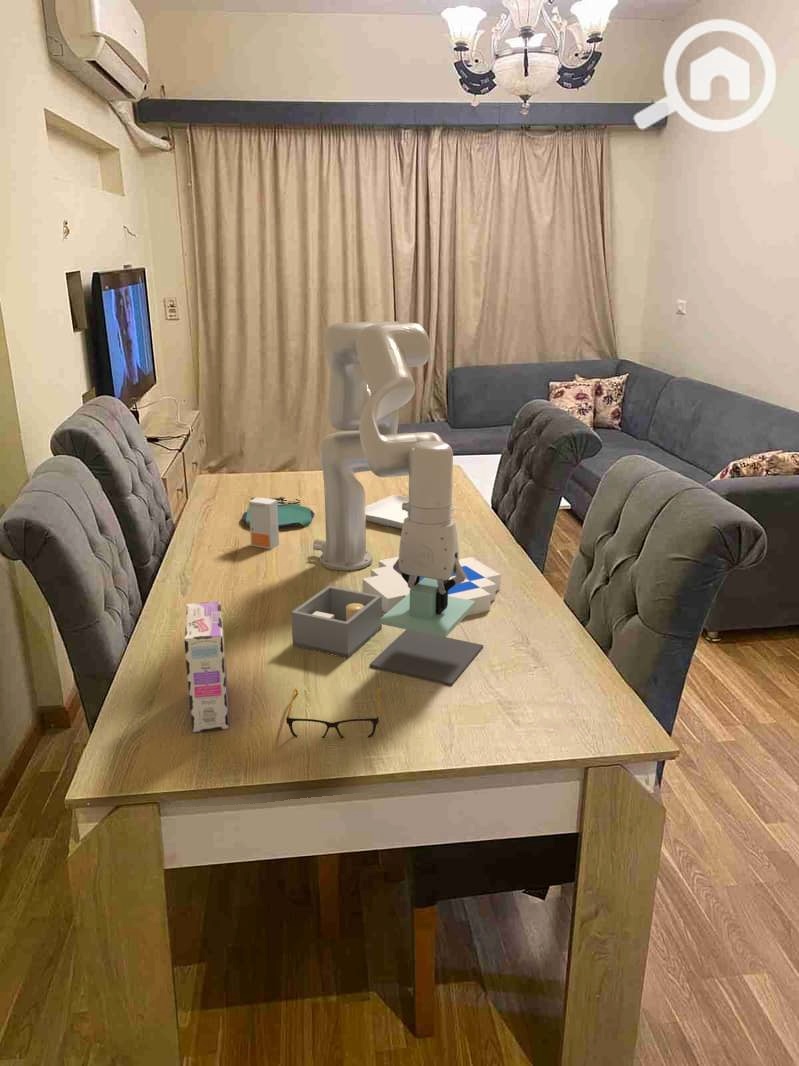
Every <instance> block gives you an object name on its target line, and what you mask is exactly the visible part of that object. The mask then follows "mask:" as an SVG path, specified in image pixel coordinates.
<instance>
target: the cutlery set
mask: <svg viewBox="0 0 799 1066" xmlns="http://www.w3.org/2000/svg"><path fill="white" fill-rule="evenodd" d="M250 498H251V499H250V501H251V500H253V499H255V498H256V497H250ZM267 498H268V499H285V498H286V496H280V497H273V498H272V497H271V498H269V497H267ZM284 501H287V500H284ZM297 501H299V502H298V503H297V502H295V501H293V503H295V504H291V503H292V502H287V503H288V504H283V503H285V502H283V500H280V501H277V508H278V528H289V527H295V526H299V525H302V526H303V527H304V528H306V527H305V526H307V527H309V526H310V524H311V523H312V520H313V519H314V517H315V512H314V511H313V510H312V509H311V508H310V507H308V506H303V505H301V503H300V502H301V500H297ZM241 517H242V520H243V521H244V522H246V524H247V525H248V526H249V527H250V516H249V508H248V509H246V511H244V513H243V514H242V515H241Z"/></svg>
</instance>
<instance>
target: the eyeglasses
mask: <svg viewBox="0 0 799 1066" xmlns="http://www.w3.org/2000/svg"><path fill="white" fill-rule="evenodd" d="M292 691H293V692H292V695H291V699H290V704H289V707H288V712H287V715H286V717H285V720H286V721H285V722H286V724H287V726H288V728H289V731H290V733H291V735H292V736H293V737H294V736H295V737H294V738H298V737H297V736H298V735H297V734H296V733H295V731H294V728H293V723H294V722H313V723H315V722H316V723H320V724H324V725H326V730H325V733H324V734H323V735H322V736H321V737H322V738H324V739H325V738H326V736H327V734H328V732H329V730H330V728H331V729H333V728H335V730H336V731H337V734H338V735H339V737H340V738H341V739H342V738H344V737H345V736H343V734H342V733H341V731H340V729H339V725H340V724H343V723H351V722H371V723H372V731H371V733H370V734H369V735H367V736H368V737H367V738H372V737H373V735H374V734H375V731H376V728H377V725H378V724H379V722H380V717H379V715H380V696H381V688H378V693H377V711H376V712H377V713H376V717H371V718H353V719H345V720H340V721H335V722H329V721H326V720H320V719H311V718H294V717H290V715H291V709H292V707H293V706H292V705H293V702H294V697H295V694H296V695H297V694H298V695H299V690H298V689H297V688H296V687H295V688H294V689H293V690H292ZM344 739H345V738H344Z"/></svg>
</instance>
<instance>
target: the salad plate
mask: <svg viewBox="0 0 799 1066" xmlns="http://www.w3.org/2000/svg"><path fill="white" fill-rule="evenodd" d="M408 502H409V496H405V495H401V494H400V495H399V494H392V495H389V496H387V497H385V498H382V499H380V500H378V501H376V502H372V503H370V504H368V505H365V513H366V521H368V522H371V523H372V524H376V523H378V524H377V525H381V524H382V525H381V526H385V525H387V526H386V527H389V526H391V527H390V528H394V527H396V528H395V529H399V528H401V529H400V530H402V527H403V522H404V519H405V518H407V517H409V516H408V512H407V511H406V510H402V504H403V503H408ZM455 509H456V506H454V505H452V512H454V511H455Z"/></svg>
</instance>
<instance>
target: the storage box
mask: <svg viewBox="0 0 799 1066" xmlns="http://www.w3.org/2000/svg"><path fill="white" fill-rule="evenodd" d="M382 612H383V610H382V596H378V595H373V594H368V593H363V591H357V590H351V589H348V588H341V587H337V586H330V585H328V586H326V587H324V589H322V590H321V591H319V592H318V593H316V594H314V596H312V597H310V598H309V599H308V600H306V601H305V602H304V603H302V604H300V605H299V606H297V607H295V609H293V610H292V611H291V612H290V614H291V616H290V617H291V637H292V638H291V639H292V646H294V647H297V648H302V649H306V650H311V651H314V650H315V652H318V651H320V652H319V653H322V652H323V654H327V653H328V654H327V655H331V654H333V655H332V656H335V655H336V657H340V658H344V657H345V659H349V658H350V657H351V656H353V655H354V654H355V653H356V652H357V651H358V650H359V649H361V646H362V647H363V646H364V645H365V644H366V643H367V642H369V641H370V640H371V639H372V638H373V637H374V636H375V635H376V634H377V633H379V631H381V630H382V628H383V624H380V618H381V617H382V616H383V613H382ZM372 636H373V637H372ZM371 637H372V638H371ZM370 638H371V639H370ZM353 653H354V654H353ZM352 654H353V655H352Z"/></svg>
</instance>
